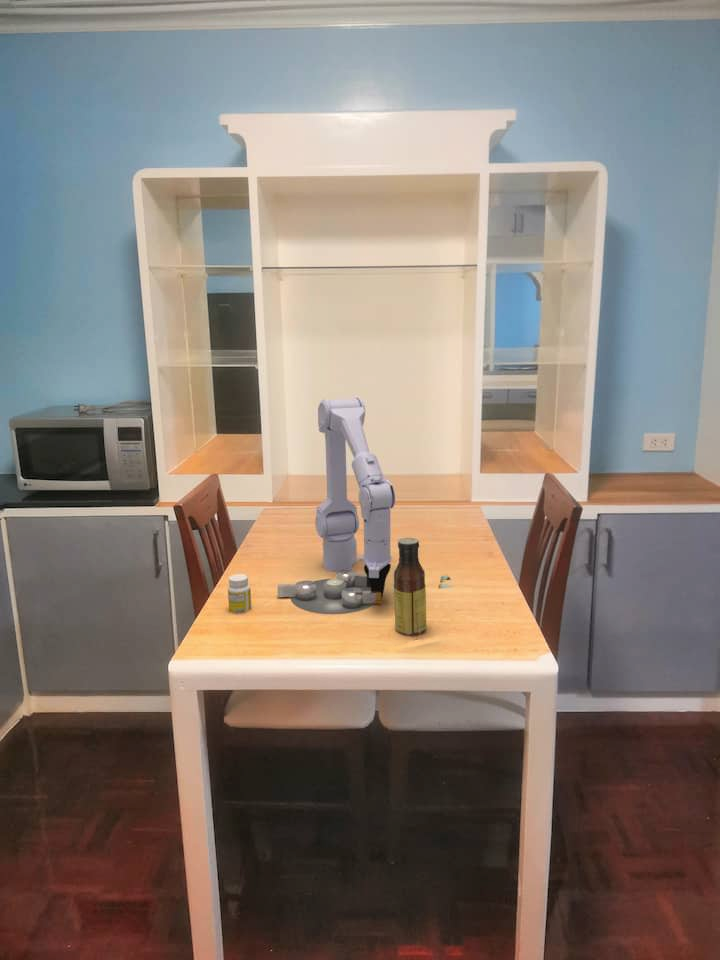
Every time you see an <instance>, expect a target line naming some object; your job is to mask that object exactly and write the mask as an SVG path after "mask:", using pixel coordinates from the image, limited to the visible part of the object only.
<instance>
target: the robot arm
mask: <svg viewBox="0 0 720 960" xmlns="http://www.w3.org/2000/svg"><path fill="white" fill-rule="evenodd" d="M365 417H366V408H365V404H364V401H363V400H362V399H361V398H360V397H355V398H335V399H326V398H324V399H322V400H321V401H320V402H319V405H318V407H317V422H318V423H317V424H318V425H317V426H318V431H319V433H323V434H324V439H325V442H324V443H325V465H326V466H325V468H326V470H325V471H326V497H327V498H326V499H325V500H323V501H322V502H321V503H320V504H318V505H317V506H316V515H315V520H314V522H315V523H314V525H315V530H316V534H317V535H318V536H319V537H320V538H321V539H322V557H323V558H322V560H323V569H324V570H326V571H329V572H336V573H337V571H339V570H343V569H350V570H352V567H353V565H354V564H355V563H357V560H358V561H359V562H364V564H365V565H364V566H363V570H364V574H366V575H367V576H368V579H369V581H370V586H371V591H374V590H380V591H381V599H382V598H383V596H384V591H385V586H386V579H387V577H388V574H389V573H390V571H391V568H392V567H391V562H392V556H391V509H393V508H394V507H395V504H396V491H395V488H394V485H393V484H392V482H391V481H389V480H388V478H387V477H384V474H383V471H382V469H381V466H380V463H379V461H378V460H379V459H378V458H377V456H376V454H374V453H372V452H370V450H369V445H368V442H367V437H366V435H365V434H366V433H365V430H364V427H363V426H364V424H365ZM346 443H347V445H348V448H349V450H350V452H351V454H352V456H353V460H352V461H351V468H352V471H353V474H354V477H355V479H356V481H357V482H356V483H357V485H358V487H359V492H358V502H359V506H360V514H361V518H363V554H360V555H357V554H358V553H357V551H358V549H357V548H358V547H357V546H358V545H357V544H358V543H357V539H356V537H355V535H356V533H358V531H359V527H360V519H359V515H358V509H357V505H356V504H355V503H354V502H353V501H351V500H350V499H348V488H347V487H348V485H347V484H348V483H347V479H348V478H347V477H348V476H347V452H346V450H347V447H346V446H347V445H346ZM357 556H358V557H357ZM357 558H358V559H357Z"/></svg>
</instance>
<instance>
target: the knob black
mask: <svg viewBox="0 0 720 960" xmlns="http://www.w3.org/2000/svg"><path fill="white" fill-rule="evenodd" d="M336 579H340V580H343V581H345V582H346V588H351V587H354V586H367V587H371V586H370V581H369V579H368V576H367V575H366V573H357V571H356V570H353V569H343V570H339V571H337V572H336Z"/></svg>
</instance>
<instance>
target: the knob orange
mask: <svg viewBox="0 0 720 960" xmlns="http://www.w3.org/2000/svg"><path fill="white" fill-rule="evenodd" d="M372 603H375V605H376V604H382V598H381V591H380V590H374V591H363V590H361V589H359V588H346V589H343V590H342V605H343V606H344V607H347V608H357V607H360V606H362V605H363V604H372Z"/></svg>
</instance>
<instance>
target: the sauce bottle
mask: <svg viewBox="0 0 720 960" xmlns="http://www.w3.org/2000/svg"><path fill="white" fill-rule="evenodd" d="M419 542H420V541H419V539H417V538H415V537H402V538H400V539H398V541H397V547H398V555H399V557H398V563H397V565H396V567H395V570H394V572H393V598H394V599H393V600H394V601H393V602H394V625H395V626H394V627H395V632H397V633H398V634H401V635H403V636H408V637H417V636H421V635H423V634H425V633H426V632H427V597H426V596H427V595H426V594H427V590H426V580H425V579H426V578H425V577H426V576H425V575H426V574H425V570H424V568H423V566H422V564H421V563H420V560H419V559H420V558H419V548H420V543H419ZM417 640H419V638H417V639H415V641H417Z"/></svg>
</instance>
